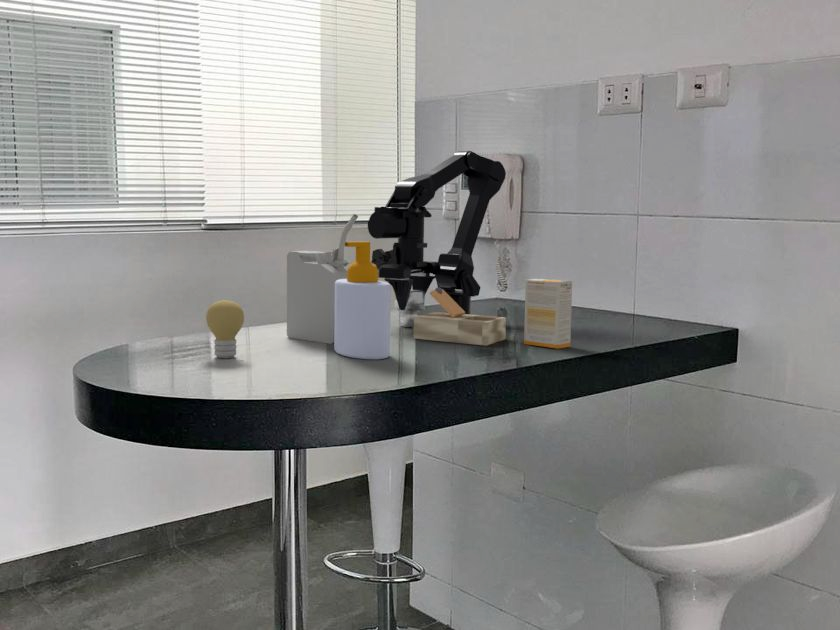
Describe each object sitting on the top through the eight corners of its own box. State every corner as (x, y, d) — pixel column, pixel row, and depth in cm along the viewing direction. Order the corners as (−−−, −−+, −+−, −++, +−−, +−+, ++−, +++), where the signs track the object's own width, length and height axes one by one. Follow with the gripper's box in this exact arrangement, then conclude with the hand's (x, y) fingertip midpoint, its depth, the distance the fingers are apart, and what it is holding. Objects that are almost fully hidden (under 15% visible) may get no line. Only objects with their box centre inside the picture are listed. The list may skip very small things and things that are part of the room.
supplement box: (571, 347, 174) (574, 280, 172) (557, 349, 171) (560, 281, 169) (536, 341, 180) (539, 277, 178) (522, 344, 176) (524, 278, 174)
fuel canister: (360, 342, 174) (361, 214, 171) (343, 345, 170) (344, 214, 167) (304, 334, 183) (304, 212, 180) (286, 337, 179) (286, 212, 176)
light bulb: (225, 361, 151) (225, 303, 149) (198, 357, 154) (198, 300, 153) (251, 356, 156) (251, 300, 155) (225, 353, 159) (224, 297, 158)
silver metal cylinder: (403, 323, 202) (403, 288, 201) (429, 326, 199) (429, 290, 198) (389, 327, 197) (389, 291, 196) (415, 329, 194) (416, 293, 193)
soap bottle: (323, 351, 164) (323, 240, 161) (360, 347, 169) (361, 240, 166) (363, 362, 153) (364, 243, 151) (401, 357, 158) (403, 243, 156)
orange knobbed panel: (463, 315, 183) (467, 309, 183) (452, 317, 179) (457, 311, 178) (438, 290, 185) (443, 284, 185) (428, 292, 181) (432, 286, 180)
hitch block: (435, 332, 190) (435, 311, 189) (505, 339, 182) (506, 317, 182) (413, 338, 181) (413, 316, 180) (486, 345, 173) (486, 322, 173)
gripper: (399, 235, 208) (398, 302, 209) (357, 237, 191) (356, 310, 193) (442, 237, 202) (440, 305, 204) (403, 239, 186) (401, 313, 188)
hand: (409, 308), depth 198 cm, fingers closed on silver metal cylinder, 7 cm apart
